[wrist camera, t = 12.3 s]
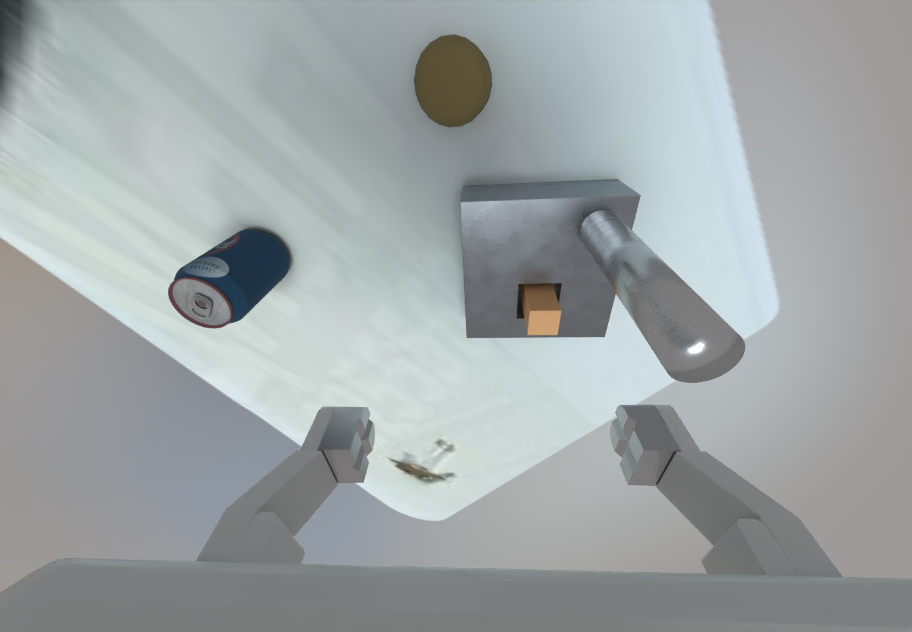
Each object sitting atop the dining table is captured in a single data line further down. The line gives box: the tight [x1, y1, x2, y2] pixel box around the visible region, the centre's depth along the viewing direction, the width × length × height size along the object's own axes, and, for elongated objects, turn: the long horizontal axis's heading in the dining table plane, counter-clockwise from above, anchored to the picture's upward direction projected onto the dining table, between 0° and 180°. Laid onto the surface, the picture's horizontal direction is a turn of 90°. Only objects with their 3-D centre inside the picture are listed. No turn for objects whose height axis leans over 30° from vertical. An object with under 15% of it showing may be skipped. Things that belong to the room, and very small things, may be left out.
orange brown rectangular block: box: [518, 283, 561, 335], centre depth 37 cm, size 3×3×10 cm
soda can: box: [168, 230, 289, 328], centre depth 37 cm, size 7×7×12 cm
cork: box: [414, 35, 492, 127], centre depth 26 cm, size 6×6×11 cm
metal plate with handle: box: [460, 179, 745, 383], centre depth 30 cm, size 16×16×24 cm
